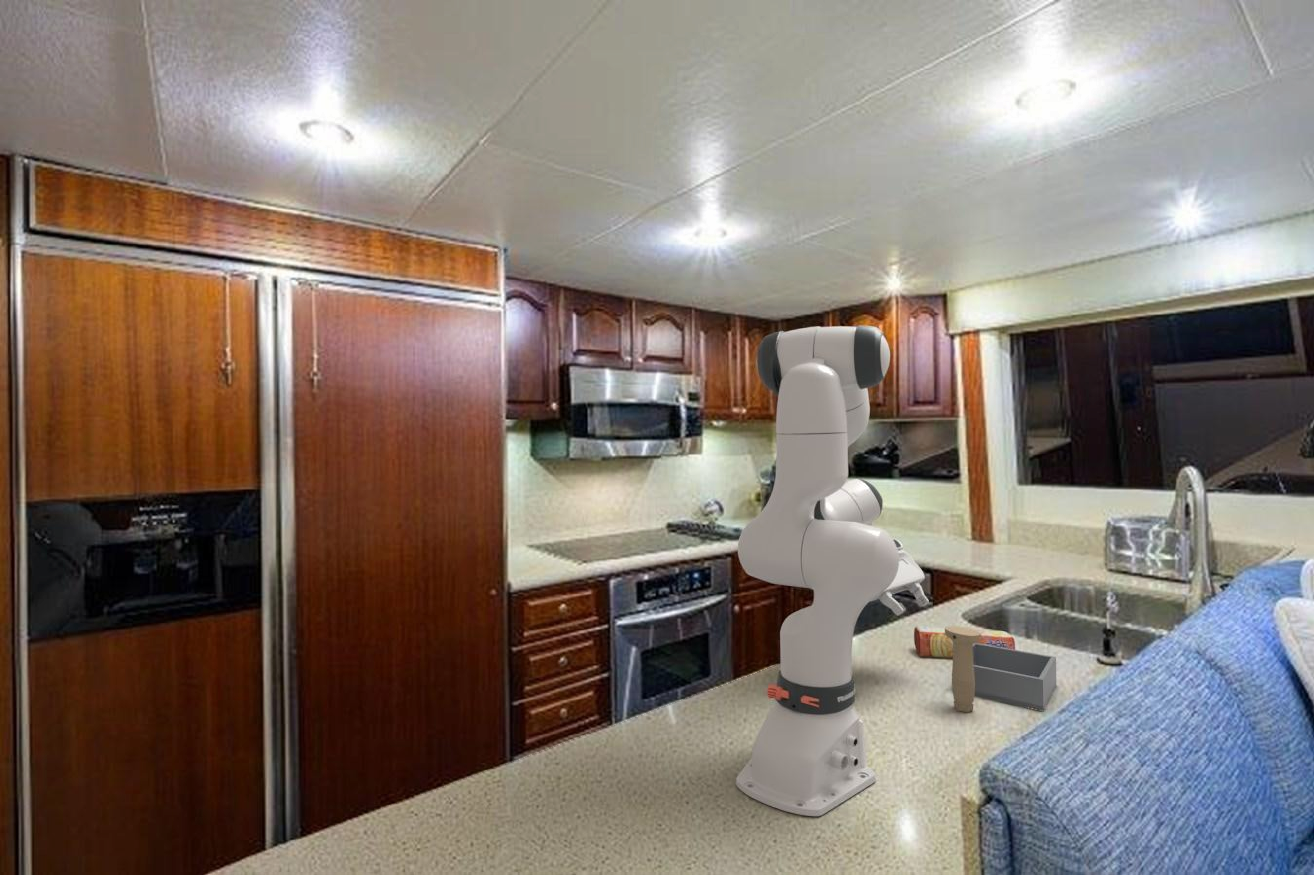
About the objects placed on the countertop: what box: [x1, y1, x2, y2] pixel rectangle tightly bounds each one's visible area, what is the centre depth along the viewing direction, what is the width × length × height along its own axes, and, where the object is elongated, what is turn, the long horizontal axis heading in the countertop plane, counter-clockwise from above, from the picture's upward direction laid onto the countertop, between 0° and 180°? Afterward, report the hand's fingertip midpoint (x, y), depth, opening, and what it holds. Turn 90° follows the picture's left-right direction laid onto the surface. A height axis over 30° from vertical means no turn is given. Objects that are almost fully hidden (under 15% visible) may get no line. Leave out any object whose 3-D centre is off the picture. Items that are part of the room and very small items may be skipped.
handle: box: [944, 625, 981, 713], centre depth 123 cm, size 5×6×15 cm
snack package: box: [913, 625, 1016, 659], centre depth 153 cm, size 21×7×7 cm, turn 79°
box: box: [973, 643, 1057, 711], centre depth 133 cm, size 16×16×6 cm
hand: (914, 609), depth 130 cm, fingers open, 8 cm apart
